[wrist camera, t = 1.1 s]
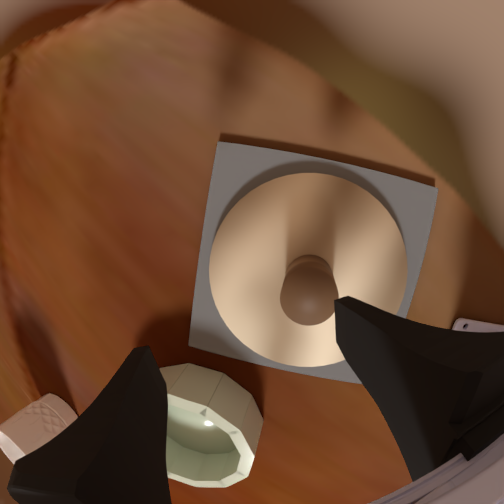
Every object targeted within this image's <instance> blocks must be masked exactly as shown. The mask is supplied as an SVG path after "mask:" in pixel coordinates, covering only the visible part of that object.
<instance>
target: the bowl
mask: <svg viewBox="0 0 504 504" xmlns="http://www.w3.org/2000/svg"><path fill="white" fill-rule="evenodd" d="M160 372H161V374H162V376H163V378H164V380H165V382H166V385H167V397H168V419H167V439H166V466H167V476H168V477H169V478H172V479H174V480H177V481H180V482H183V483H186V484H189V485H192V486H195V487H228V486H230V485H232V484H234V483H236V482H238V481H240V480H242V479H244V478H246V477H248V475H249V472H250V469H251V466H252V463H253V460H254V457H255V453H256V449H257V445H258V441H259V437H260V433H261V429H262V424H263V418H262V416H261V414H260V411H259V409H258V407H257V405H256V403H255V400H254V398H253V396H252V394H250V393H249V392H248V391H246V390H245V389H244V388H242V387H241V386H240V385H239V384H237V383H236V382H235V381H233V380H232V379H231V378H230V377H228V376H227V375H226V374H225V373H222V372H219V371H215V370H211V369H208V368H204V367H201V366H198V365H194V364H191V363H186V364H181V365H175V366H169V367H163V368H160Z"/></svg>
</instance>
